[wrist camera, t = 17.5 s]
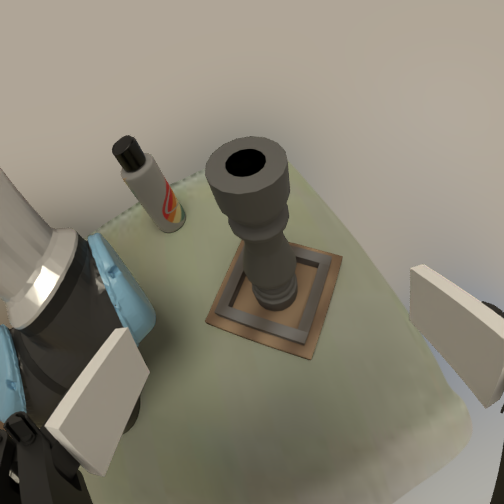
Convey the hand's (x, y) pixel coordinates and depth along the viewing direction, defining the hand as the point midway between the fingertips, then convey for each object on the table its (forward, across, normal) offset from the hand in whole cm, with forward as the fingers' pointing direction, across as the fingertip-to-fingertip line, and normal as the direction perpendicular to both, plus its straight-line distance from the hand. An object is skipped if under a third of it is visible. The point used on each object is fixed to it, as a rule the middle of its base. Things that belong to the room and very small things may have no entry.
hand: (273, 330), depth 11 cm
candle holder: (+27, 0, -10) cm, 29 cm away
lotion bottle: (+40, -16, +2) cm, 43 cm away
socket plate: (+28, 0, -11) cm, 30 cm away
